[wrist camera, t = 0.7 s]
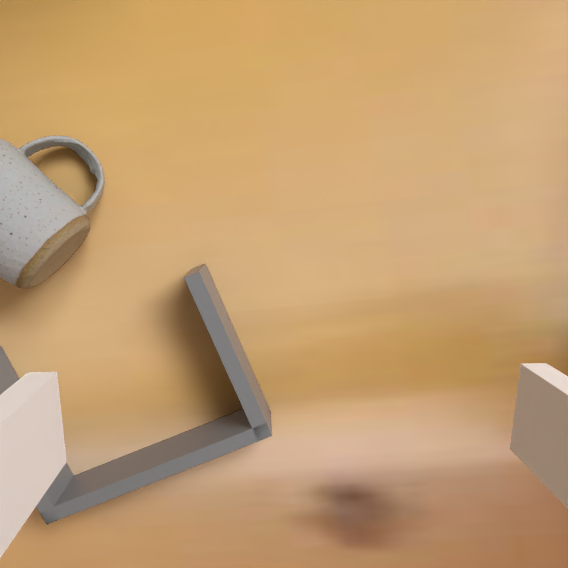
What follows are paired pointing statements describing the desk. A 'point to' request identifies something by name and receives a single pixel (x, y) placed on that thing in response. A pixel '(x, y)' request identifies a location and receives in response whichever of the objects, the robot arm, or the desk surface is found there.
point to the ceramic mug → (39, 213)
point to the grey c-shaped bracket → (176, 450)
